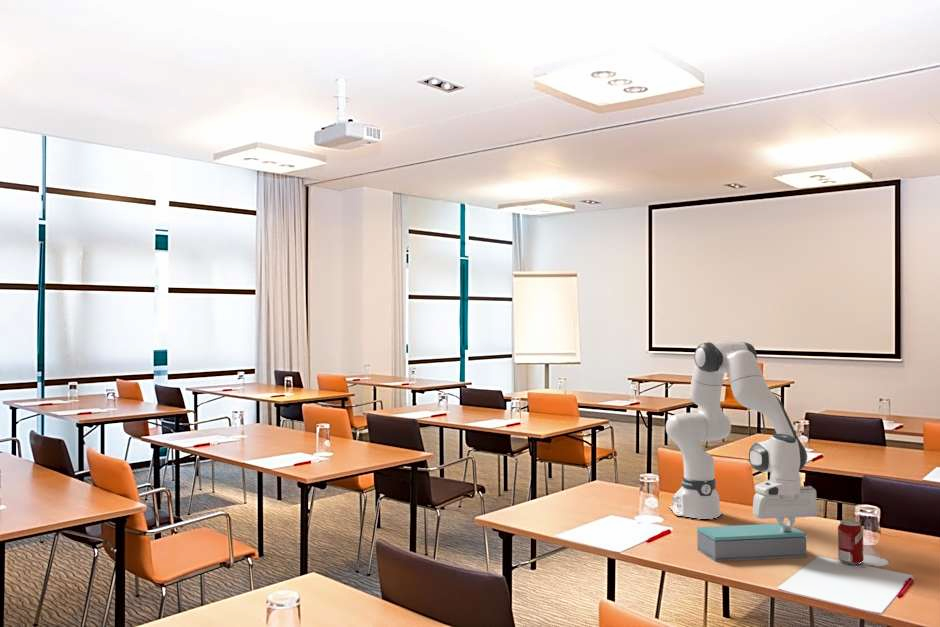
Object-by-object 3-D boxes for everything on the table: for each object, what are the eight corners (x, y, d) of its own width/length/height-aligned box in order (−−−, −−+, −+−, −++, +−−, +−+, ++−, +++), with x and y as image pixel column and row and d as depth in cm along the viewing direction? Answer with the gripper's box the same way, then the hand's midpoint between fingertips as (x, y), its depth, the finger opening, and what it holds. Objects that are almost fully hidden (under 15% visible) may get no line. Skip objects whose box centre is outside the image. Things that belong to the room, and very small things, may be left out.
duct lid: (697, 530, 235) (697, 527, 235) (784, 526, 239) (784, 523, 239) (714, 540, 223) (714, 537, 223) (806, 536, 228) (806, 533, 228)
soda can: (850, 566, 218) (849, 526, 218) (833, 560, 224) (832, 520, 224) (868, 564, 219) (868, 524, 220) (851, 558, 226) (850, 518, 226)
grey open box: (697, 549, 235) (697, 531, 235) (784, 545, 239) (784, 527, 239) (715, 561, 223) (714, 541, 223) (806, 556, 227) (806, 537, 228)
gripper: (809, 483, 235) (810, 527, 234) (749, 486, 232) (750, 530, 232) (821, 488, 228) (822, 532, 228) (760, 490, 226) (761, 535, 225)
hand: (785, 531), depth 230 cm, fingers closed, pressing on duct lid
